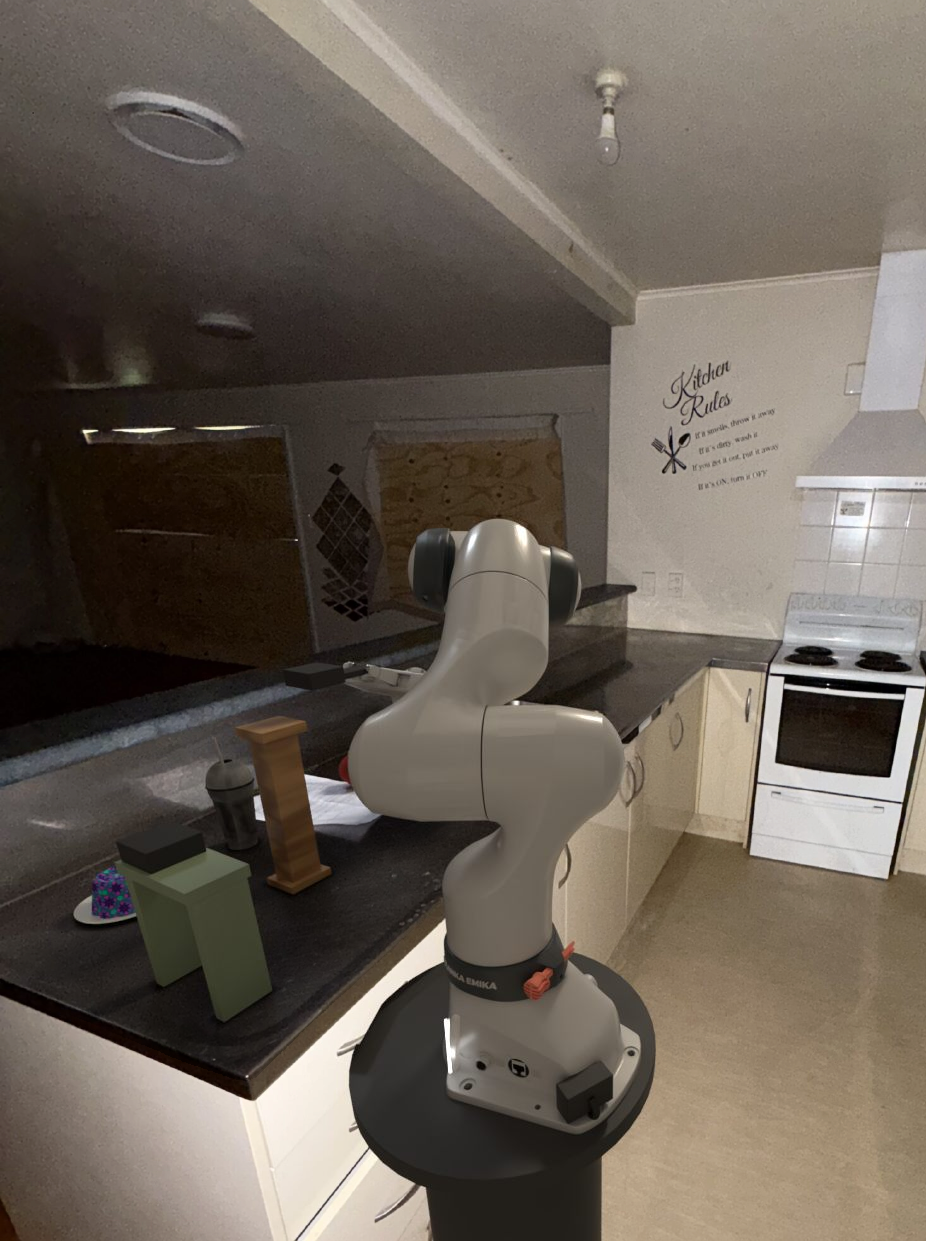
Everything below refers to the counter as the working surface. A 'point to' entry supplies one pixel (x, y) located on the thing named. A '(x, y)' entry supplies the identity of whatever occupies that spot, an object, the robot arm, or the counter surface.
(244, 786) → the beverage cup
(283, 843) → the tall stand
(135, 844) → the black block
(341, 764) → the onion
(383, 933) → the counter surface
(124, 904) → the pudding
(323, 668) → the black pad
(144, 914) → the low bench
